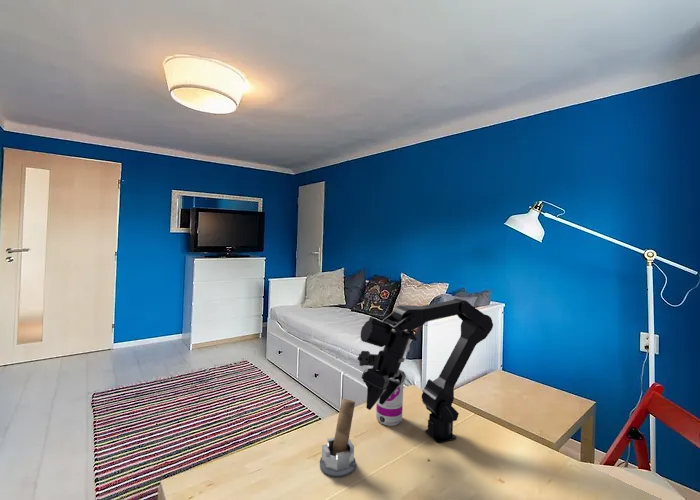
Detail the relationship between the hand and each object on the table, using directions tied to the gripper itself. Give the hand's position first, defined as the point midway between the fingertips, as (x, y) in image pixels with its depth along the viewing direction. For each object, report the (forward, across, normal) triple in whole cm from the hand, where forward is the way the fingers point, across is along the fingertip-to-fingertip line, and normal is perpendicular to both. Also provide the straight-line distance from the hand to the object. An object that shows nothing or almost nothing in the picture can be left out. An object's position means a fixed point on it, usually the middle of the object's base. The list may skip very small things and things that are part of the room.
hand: (374, 406), depth 94 cm
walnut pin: (+14, +7, -2) cm, 16 cm away
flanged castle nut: (+15, +7, -2) cm, 17 cm away
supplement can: (+8, -19, 0) cm, 21 cm away
